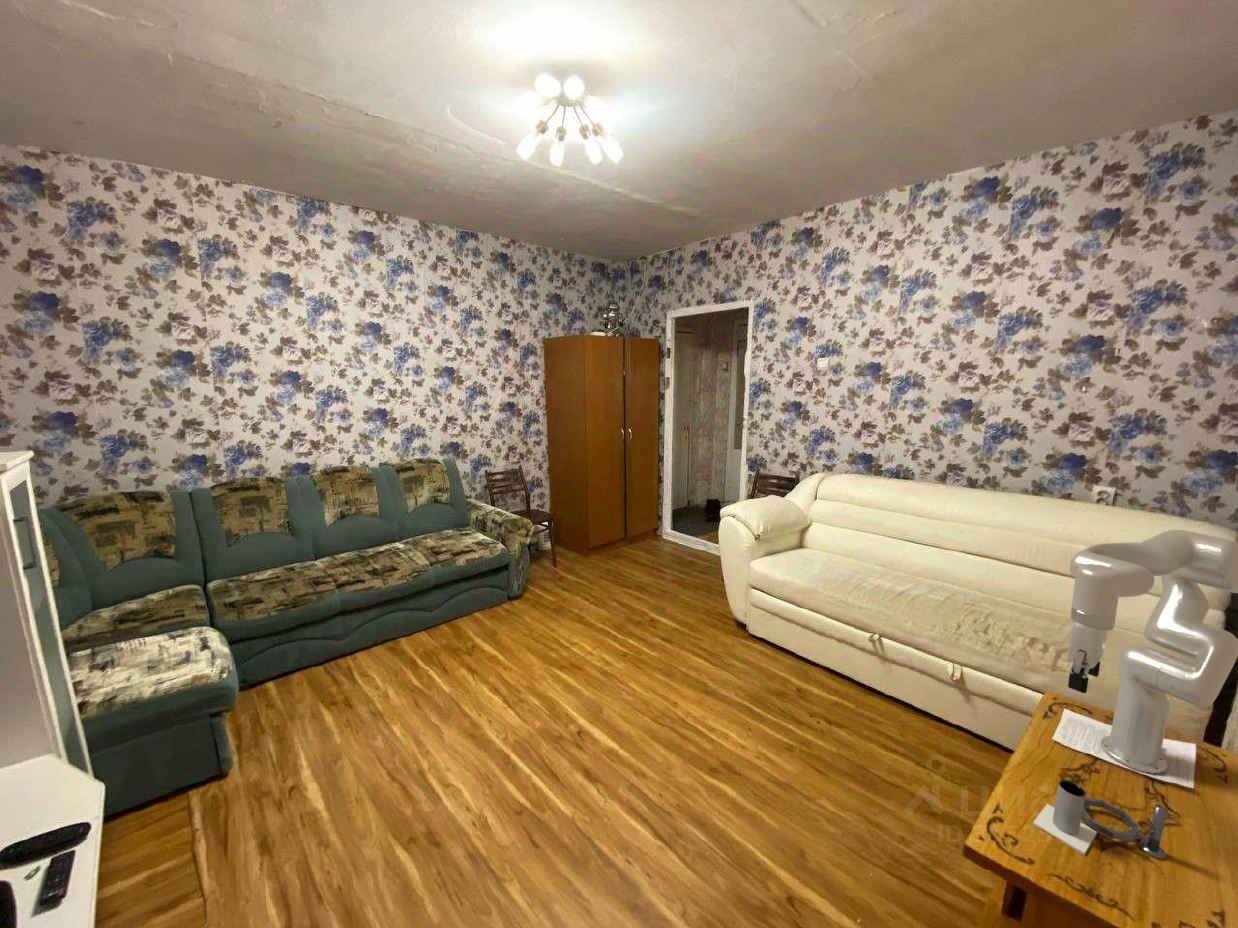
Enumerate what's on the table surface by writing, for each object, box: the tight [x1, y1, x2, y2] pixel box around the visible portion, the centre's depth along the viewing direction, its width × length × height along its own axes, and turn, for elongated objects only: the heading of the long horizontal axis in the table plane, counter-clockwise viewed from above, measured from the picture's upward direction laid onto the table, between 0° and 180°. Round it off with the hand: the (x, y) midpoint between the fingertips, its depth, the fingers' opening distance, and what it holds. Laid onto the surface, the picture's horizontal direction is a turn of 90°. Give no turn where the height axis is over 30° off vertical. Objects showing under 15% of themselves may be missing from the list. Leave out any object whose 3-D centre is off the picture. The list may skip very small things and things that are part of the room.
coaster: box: [1032, 803, 1098, 856], centre depth 113 cm, size 9×9×1 cm
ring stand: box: [1081, 797, 1168, 860], centre depth 111 cm, size 10×14×11 cm
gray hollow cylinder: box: [1053, 779, 1087, 835], centre depth 113 cm, size 4×4×10 cm
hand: (1083, 681), depth 119 cm, fingers open, 9 cm apart
